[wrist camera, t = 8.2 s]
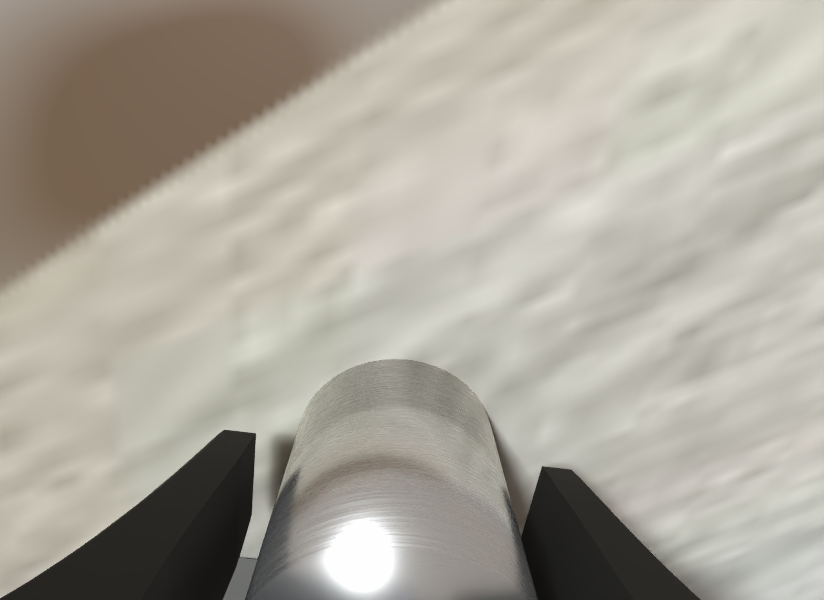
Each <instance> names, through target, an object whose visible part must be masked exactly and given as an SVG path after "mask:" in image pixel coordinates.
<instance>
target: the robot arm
mask: <svg viewBox="0 0 824 600" xmlns="http://www.w3.org/2000/svg"><path fill="white" fill-rule="evenodd" d="M255 441H256V433H247V432H239V431H230V430H224V431H222V432H221V433H219V434H218V435H217V436H216V437H215V438H214V439H213V440H211V441H210V442H209V443H208V444H207V445H206V446H205V447H204V448H203V449H202V450H200V451H199V452H198V453H197V454H196V455H195V456H194V457H193V458H192V459H191V460H189V461H188V462H187V463H186V464H185V465H184V466H183V467H181V468H180V469H179V470H178V471H177V472H176V473H175V474H173V475H172V476H171V477H170V478H169V479H167V480H166V481H165V482H164V483H163V484H162V485H160V486H159V487H158V488H157V489H156V490H154V491H153V492H152V493H151V494H150V495H148V496H147V497H146V498H145V499H144V500H142V501H141V502H140V503H139V504H137V505H136V506H135V507H133V508H132V509H131V510H130V511H128V512H127V513H126V514H124V515H123V516H122V517H120V518H119V519H118V520H116V521H115V522H114V523H112V524H111V525H110V526H109V527H107V528H106V529H105V530H103V531H102V532H101V533H99V534H98V535H97V536H95V537H94V538H92V539H91V540H90V541H88V542H87V543H85V544H84V545H83V546H81V547H80V548H78V549H77V550H76V551H74V552H73V553H71V554H70V555H68V556H67V557H65V558H64V559H62V560H61V561H59V562H58V563H56V564H55V565H53V566H52V567H50V568H49V569H47V570H46V571H44V572H43V573H41V574H40V575H38V576H37V577H35V578H33V579H32V580H30V581H29V582H27V583H25V584H24V585H22V586H21V587H19V588H17V589H16V590H14V591H12V592H11V593H9V594H7V595H5V596H4V597H2V598H0V600H223V598H224V596H225V593H226V591H227V588H228V586H229V584H230V581H231V579H232V576H233V574H234V571H235V569H236V566H237V563H238V560H239V557H240V553H241V550H242V547H243V543H244V540H245V536H246V533H247V529H248V526H249V522H250V519H251V515H252V497H253V479H254V460H255ZM521 540H522V543H523V547H524V551H525V555H526V558H527V562H528V566H529V570H530V573H531V577H532V581H533V584H534V588H535V592H536V596H537V599H538V600H700V599H699V598H698V597H697V596H696V595H695V594H694V593H692V592H691V591H690V590H689V589H688V588H687V587H686V586H685V585H684V584H683V583H682V582H681V581H680V580H679V579H678V578H676V577H675V576H674V575H673V574H672V573H671V572H670V571H669V570H668V569H667V568H666V567H665V566H664V565H663V564H662V563H661V562H660V561H659V560H658V559H657V558H656V557H655V556H654V555H653V554H652V553H651V552H650V551H649V550H648V549H647V548H646V547H645V546H644V545H643V544H642V543H641V542H640V541H639V540H638V539H637V538H636V537H635V536H634V535H633V534H632V533H631V532H630V531H629V530H628V529H627V528H626V526H625V525H624V524H623V523H622V522H621V521H620V520H619V519H618V518H617V517H616V516H615V515H614V514H613V513H612V512H611V511H610V510H609V508H608V507H607V506H606V505H605V504H604V503H603V502H602V501H601V500H600V499H599V498H598V497H597V496H596V495H595V494H594V493H593V491H592V490H591V489H590V488H589V487H588V486H587V485H586V484H585V483H584V482H583V481H582V480H581V479H580V478H579V477H578V476H577V475H576V474H575V473H574V472H573V471H572V470H569V469H560V468H551V467H543V466H542V469H541V472H540V476H539V479H538V482H537V486H536V489H535V492H534V496H533V499H532V503H531V506H530V509H529V513H528V516H527V520H526V523H525V526H524V530H523V533H522V536H521Z"/></svg>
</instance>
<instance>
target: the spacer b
mask: <svg viewBox="0 0 824 600" xmlns="http://www.w3.org/2000/svg"><path fill="white" fill-rule="evenodd" d="M245 600H538V599H537V596H536V592H535V588H534V584H533V581H532V577H531V573H530V570H529V566H528V562H527V558H526V555H525V551H524V547H523V543H522V540H521V536H520V532H519V529H518V525H517V521H516V517H515V514H514V510H513V506H512V503H511V499H510V495H509V491H508V488H507V484H506V480H505V477H504V473H503V469H502V465H501V462H500V458H499V454H498V451H497V447H496V443H495V439H494V436H493V432H492V428H491V425H490V421H489V418H488V415H487V413H486V411H485V409H484V407H483V405H482V403H481V402H480V400H479V399H478V397H477V396H476V395H475V394H474V392H473V391H472V390H471V389H470V388H469V387H468V386H467V385H466V384H464V383H463V382H462V381H461V380H459V379H458V378H457V377H455V376H453V375H452V374H450V373H448V372H447V371H444V370H442V369H440V368H438V367H435V366H432V365H429V364H426V363H422V362H417V361H412V360H400V359H391V360H379V361H373V362H368V363H365V364H361V365H358V366H355V367H353V368H351V369H348V370H346V371H344V372H342V373H341V374H339V375H337V376H336V377H334V378H333V379H331V380H330V381H329V382H327V383H326V384H325V385H324V386H323V387H322V388H321V389H320V390H319V391H318V392H317V393H316V394H315V395H314V397H313V398H312V399H311V401H310V402H309V404H308V406H307V408H306V410H305V412H304V414H303V417H302V419H301V422H300V426H299V429H298V432H297V435H296V438H295V442H294V445H293V448H292V451H291V454H290V457H289V461H288V464H287V467H286V470H285V473H284V477H283V480H282V483H281V486H280V489H279V493H278V496H277V499H276V502H275V505H274V508H273V512H272V515H271V518H270V521H269V524H268V528H267V531H266V534H265V537H264V540H263V544H262V547H261V550H260V553H259V556H258V559H257V563H256V566H255V569H254V572H253V575H252V579H251V582H250V585H249V588H248V591H247V595H246V598H245Z"/></svg>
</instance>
